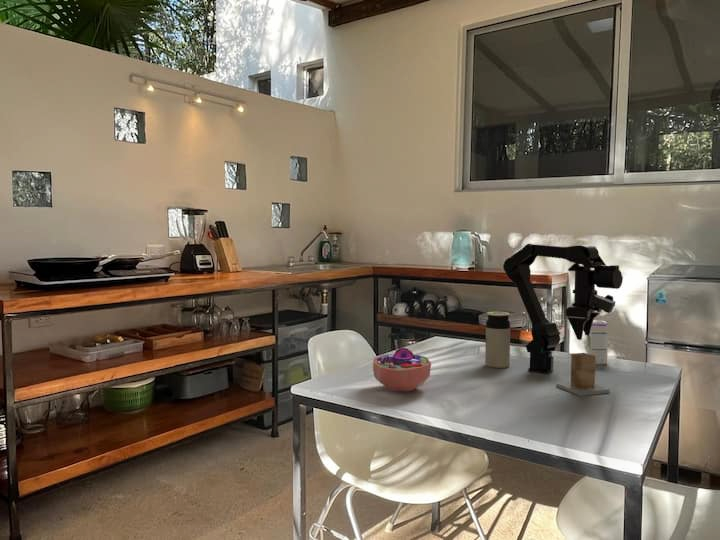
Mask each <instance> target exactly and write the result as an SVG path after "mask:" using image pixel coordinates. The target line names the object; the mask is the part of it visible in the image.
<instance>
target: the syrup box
mask: <svg viewBox="0 0 720 540" xmlns="http://www.w3.org/2000/svg"><path fill="white" fill-rule="evenodd" d="M608 330H609V329H608V322H607V321H605V320H601V319H594V320H593V323H592V327H591V330H590V334H589V335H586V336H587V341H586V342H587V346H586V347H587V348H586V349H587V351H586V352H587V354H590V355H594V356H595V365H596V364H597V365H607V364H608V345H609V344H608V342H609V341H608V340H609V339H608V338H609V337H608Z"/></svg>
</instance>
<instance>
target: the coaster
mask: <svg viewBox="0 0 720 540" xmlns="http://www.w3.org/2000/svg"><path fill="white" fill-rule="evenodd" d="M555 384H556V388H558V389H561V390H564V391H566V392H569V393H572V394H575V395H577V396H579V397H584V396H593V395H602V394H603V395H604V394H610V390H611V389H609V388H607V387H603V386H601V385H598V384H596V383H595V387H594V388H584V389H581V388H578V387H575V386H573V385H571V381H568V382H565V381H564V382H557V383H555Z"/></svg>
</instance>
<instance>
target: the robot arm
mask: <svg viewBox="0 0 720 540" xmlns="http://www.w3.org/2000/svg"><path fill="white" fill-rule="evenodd" d="M537 257H545V258H555V259H563V260H566V261H568V262H570V263H572V265H571V266H570V267H568V269H567V271H568V272H574V289H572V294H573V295H574V297H573V302H572V304H571V306H568V307H567V308H566V309H565V317H566V319H567V320H568V322H569V324H570V326H571V328H572V330H573V332H574V335H575V337H576V339H577V340H579V341H581V340H582V338H583V336H584V335H585V336H587V335H589V334H590V330H591V327H592V323H593V320H595V318H596V317H597V316H599V315H600V314H601V312H602V311H603V312H604V313H608V314H611V313H612V312H613V310H614V307H615V306H616V301H615V300H614V296H612V295H610V294H607V295H606V296H601V295H599V294H598V290H597V289H595V288H596V287H597V288H600V289H601V288H603V289H612V290H613V289H615V290H619V289H620V288H621V287H622V284H623V280H624V277H623V274H622V271H621V270H620V265H619V264H618V265H617V264H614V265H613V264H612V265H607V264H606V263H605V262H604V260H603V259H602V257H601V256H600V254H599V250H598V248H597V247H596V246H595V245H592V244H589V245H588V244H587V245H586V244H585V245H583V244H582V245H581V244H579V245H573V246H572V245H570V246H560V245H550V244H539V243H526V245H524V247H522V248H521V249H520V250H518V251H516V252H514V253H513V254H512V255H511V256H510V257H508V258H506V259H505V260H504V263H503V266H502V267H503V271H504V273H505V275H506V277H507V278H508V279H509V280H510V281H511V282H513V283H514V284H515V286H516V288H517V292H518V294H519V297H520V298H521V301H522V303H523V305H524V308H525V310H526V313H527V315H528V318H529V320H530V322H531V334H530V335H531V336H532V339H531V340H530V341H529V342H528V343H527V344H526V345H525V349H526V352H527V353H529V367H528V368H527V371H530V372H537V373H544V374H549V373H550V372H552V371H553V370H554V356H553V352H555V350H556V347H558V345H559V344H560V342H561V336H560V335H561V332H560V330H559V328H558V326H557V325H558V324H557V323H556V322H550V321H549V320H548V319H547V317H546V315H545V312H544V310H543V307H542V305H541V302H540V301H539V298H538V295H537V292H536V291H535V289H534V286H533V284H532V282H531V275H532V274H531V265H533V263H534V262H535V261H536V259H537ZM583 334H584V335H583Z"/></svg>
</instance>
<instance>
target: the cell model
mask: <svg viewBox="0 0 720 540" xmlns="http://www.w3.org/2000/svg"><path fill="white" fill-rule="evenodd" d="M431 366H432V361H430V360H429V357H425V356H423V355H419V354H414V353H413V351H412V350H411V349H409V348H406V347H400V348H398V349H397V350H396V351H395V352H394V353H393V354H382V355H380V356H377V357H374V358H373V359H372V371H373V375H374V379H375V380H376V381H378V382H379V383H380V384H381V385H383V386H384V387H385V388H387V389H388V390H390V391H392V392H404V393H405V392H406V393H407V392H411V391H413V390H416V389H418V388H420V387H421V386H423V385H424V384H425V383H426V382H427V381H428V380H429V378H430V376H431V368H432V367H431Z"/></svg>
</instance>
